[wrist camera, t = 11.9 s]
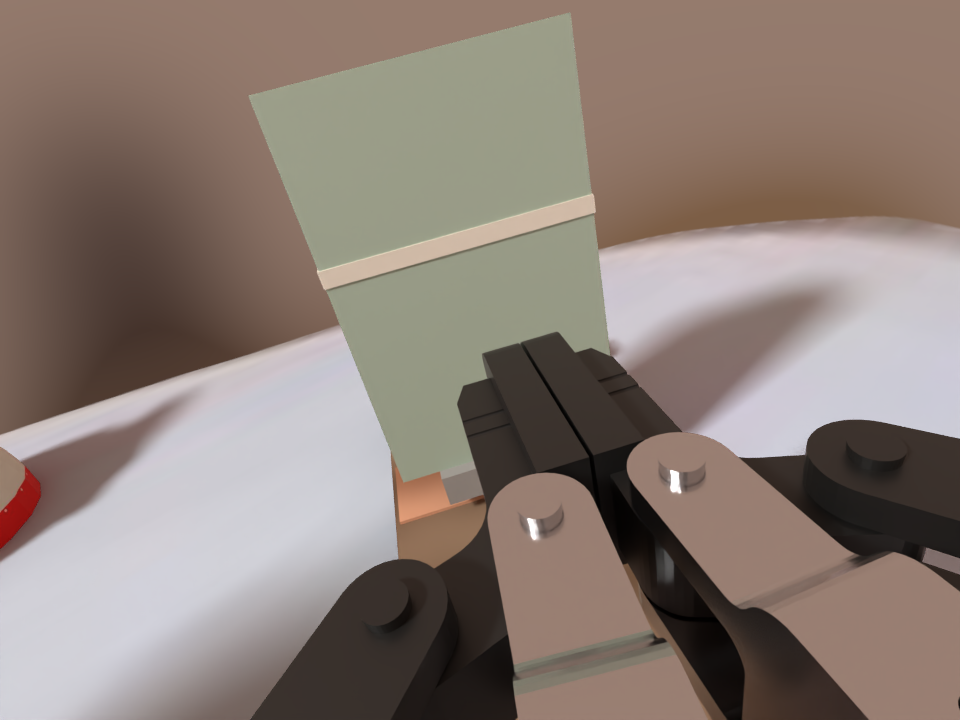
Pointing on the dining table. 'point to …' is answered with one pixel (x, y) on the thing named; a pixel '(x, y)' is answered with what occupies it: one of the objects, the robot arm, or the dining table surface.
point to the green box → (445, 221)
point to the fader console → (444, 524)
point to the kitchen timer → (15, 495)
